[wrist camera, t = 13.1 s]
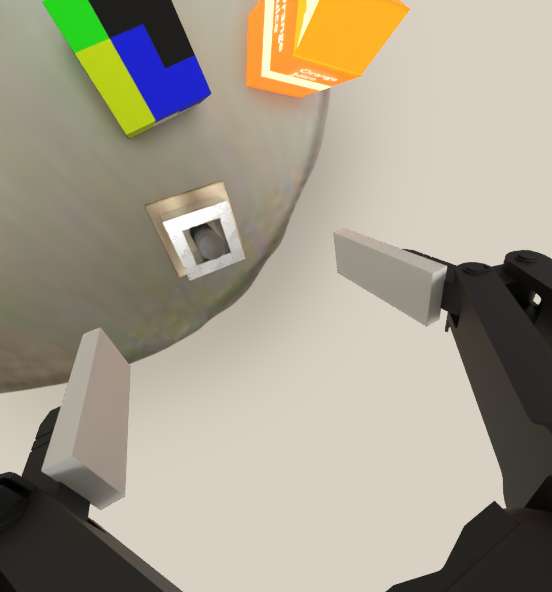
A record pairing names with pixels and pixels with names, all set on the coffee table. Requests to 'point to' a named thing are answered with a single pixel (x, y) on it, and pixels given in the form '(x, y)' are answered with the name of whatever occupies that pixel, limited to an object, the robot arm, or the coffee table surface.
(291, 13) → the orange juice
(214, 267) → the frame
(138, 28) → the puzzle toy
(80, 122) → the coffee table surface
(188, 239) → the shaft block
